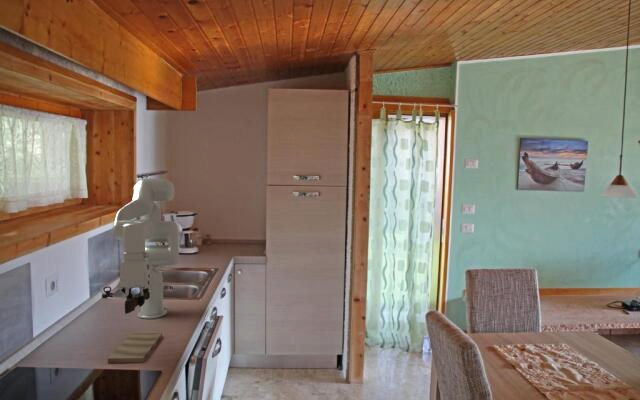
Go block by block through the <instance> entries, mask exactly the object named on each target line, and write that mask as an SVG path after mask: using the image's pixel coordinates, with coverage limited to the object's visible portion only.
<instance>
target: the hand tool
mask: <svg viewBox="0 0 640 400" xmlns="http://www.w3.org/2000/svg"><path fill="white" fill-rule="evenodd" d="M139 296H140V291H139V292H138V293H137V294H134V296H133V298H129V299H127V298H126V300H125V301H124V314H126V315H127V314H129V313H132V312H134V311H135V310H136V307H139ZM149 298H150V293H149V291H147V292H146V293H145V300H148V299H149Z"/></svg>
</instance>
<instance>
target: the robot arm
mask: <svg viewBox="0 0 640 400" xmlns="http://www.w3.org/2000/svg"><path fill="white" fill-rule="evenodd" d="M132 190H133V195H132V199H131V201H130V202H128V203H126V205H124V206H123V207H122V208H120V209H119V210H118V211H117V213H116V215H115V218H114V221H113V226H112V235H113V237H114V238H115V239H116V240H119V241H122V250H123V252H122V253H123V259H122V260H121V265H120V270H119V281H118V283H117V285H116V286H115V287H116V289H117V290H119V291H121V292H122V293H123V294H124V295H125V296H124V297H126V300H127V299H129V298H133V297H134V296H133V293H132V289H134V288H135V289H137V288H138V290H139V292H140V296H139V305H138V307H139V308H140V310H139V311H138V312H137V317H138V318H139V319H148V320H151V319H159V318H161V317H163V316H166V315H167V314H168V310H167V309H166V308H164V277H163V273H162V272H161V270H160V269H159V268H158V267H171V266H176V265H177V264H178V262H179V257H180V256H179V255H180V254H179V253H180V252H179V250H180V249H179V248H180V247H179V246H180V245H179V239H180V238H179V228H178V224H177V222H175V221H174V220H173V221H172V220H162V209H161V208H160V206H159V205H158V204H157V203H156V202H170V201H172V200H174V198H175V195H176V194H175V193H176V192H175V190H176V189H175V185H174V184H173V183H172V181H170V180H169V179H167V178H142V179H140V180H138V181H137V182H136V183H135V184H134V186H133V189H132ZM137 218H141V219H137ZM146 243H167V244H156V245H146ZM147 291H149V293H150V298H149V299H148V300H145V293H146V292H147Z"/></svg>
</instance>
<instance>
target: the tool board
mask: <svg viewBox="0 0 640 400" xmlns="http://www.w3.org/2000/svg"><path fill="white" fill-rule="evenodd" d="M162 338H163V333H162V332H156V333H155V332H154V333H149V332H148V333H147V332H146V333H144V332H143V333H141V332H140V333H138V332H137V333H130V334H129V336H127V338H125V340H124V341H123V342H122V343H121V344H120V345H119V346H118V347H117V348H115V350H114V351H113V353H112V354H111V355H109V357H108V358H107V363H108V364H109V363H111V364H112V363H113V364H114V363H116V364H117V363H144V362H145V360H146V359H147V358H148V357H149V355H150V354H151V353H152V351H153V350H154V349H155V348H156V346H157V344H158V343H160V340H161V339H162Z"/></svg>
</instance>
